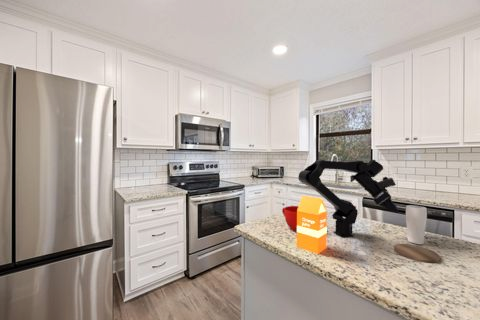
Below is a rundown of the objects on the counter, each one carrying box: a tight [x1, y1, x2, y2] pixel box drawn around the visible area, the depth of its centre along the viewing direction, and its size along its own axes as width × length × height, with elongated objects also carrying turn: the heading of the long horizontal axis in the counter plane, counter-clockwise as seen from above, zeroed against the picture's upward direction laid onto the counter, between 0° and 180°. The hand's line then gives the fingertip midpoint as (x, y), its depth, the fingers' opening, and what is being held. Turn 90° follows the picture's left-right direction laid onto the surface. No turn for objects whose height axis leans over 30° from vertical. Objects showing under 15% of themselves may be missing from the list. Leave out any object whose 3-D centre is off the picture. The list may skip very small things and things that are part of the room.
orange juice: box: [296, 195, 328, 255], centre depth 81 cm, size 8×9×20 cm
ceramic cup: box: [281, 205, 299, 232], centre depth 104 cm, size 13×17×10 cm
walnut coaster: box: [393, 243, 441, 264], centre depth 76 cm, size 13×13×1 cm
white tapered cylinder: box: [405, 204, 428, 245], centre depth 87 cm, size 7×7×15 cm
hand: (396, 209), depth 90 cm, fingers open, 9 cm apart
